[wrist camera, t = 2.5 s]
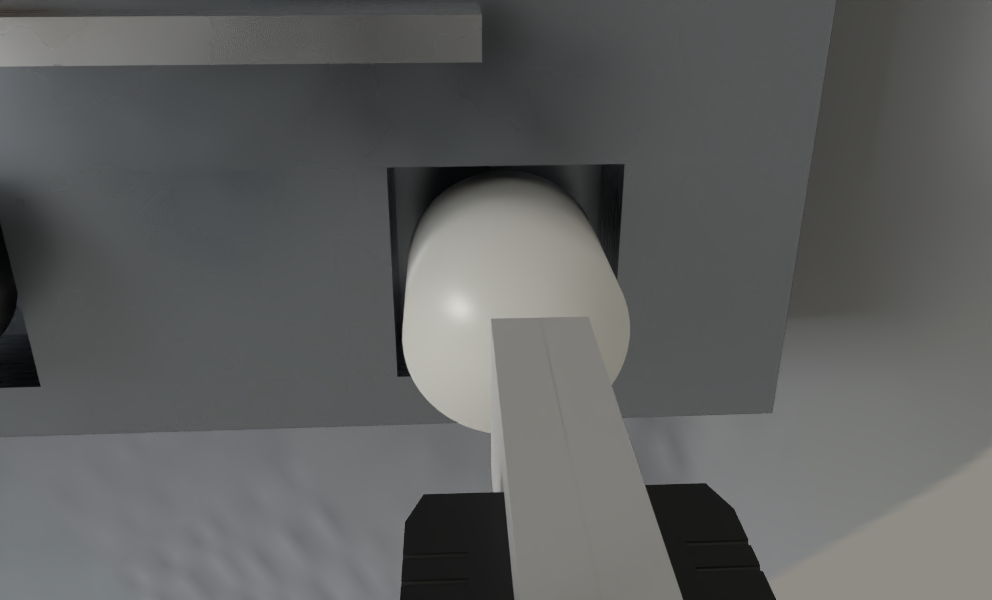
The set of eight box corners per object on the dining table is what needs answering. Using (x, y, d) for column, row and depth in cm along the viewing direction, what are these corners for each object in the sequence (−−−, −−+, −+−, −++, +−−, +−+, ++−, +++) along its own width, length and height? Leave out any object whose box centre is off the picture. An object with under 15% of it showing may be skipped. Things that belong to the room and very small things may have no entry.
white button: (411, 348, 19) (406, 438, 16) (403, 171, 18) (397, 233, 15) (593, 343, 20) (622, 431, 17) (602, 169, 18) (638, 229, 15)
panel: (-212, 347, 23) (-387, 471, 18) (-461, -310, 17) (-820, -389, 12) (715, 323, 24) (784, 433, 19) (788, -294, 18) (915, -359, 13)
